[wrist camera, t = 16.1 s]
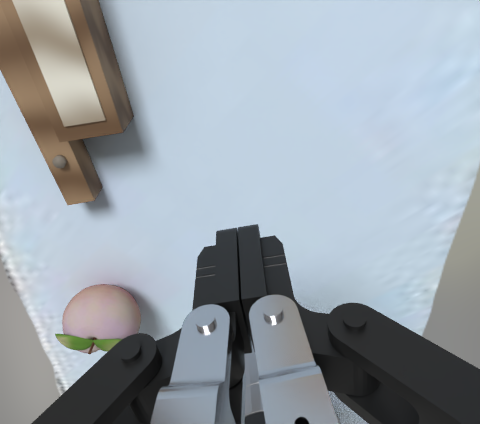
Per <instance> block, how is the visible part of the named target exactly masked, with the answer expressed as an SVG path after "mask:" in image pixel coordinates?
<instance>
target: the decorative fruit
mask: <svg viewBox="0 0 480 424" xmlns="http://www.w3.org/2000/svg"><path fill="white" fill-rule="evenodd" d="M140 323H141V314H140V310H139V307H138V304H137V303H136V301H135V299H134V298H133V297H132V295H131V294H130V293H129V292H127V291H126V290H124V289H123V288H120V287H117V286H113V285H107V284H100V285H94V286H90V287H87V288H85V289H83V290H82V291H80V292H79V293H78V294H77V295H75V296H74V297H73V298H72V300H71V301H70V302H69V303H68V305H67V307H66V309H65V311H64V314H63V322H62V324H63V333H64V334H55V335H56V338H57V339H58V341H59V342H60V343H61V344H63V345H64V346H66V347H67V348H70V349H73V350H78V351H80V352H83V353H88V354H91V353H93V352H96V351H98V350H103V351H109V350H110V349H111V348H113V347H114V346H115V345H116V344H117V343H118V342H119V341H121V340H122V339H124V338H126V337H127V336H130V335H133V334H137V333H138V331H139V328H140Z"/></svg>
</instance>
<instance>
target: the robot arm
mask: <svg viewBox="0 0 480 424" xmlns="http://www.w3.org/2000/svg"><path fill="white" fill-rule="evenodd" d="M328 391H333V392H334V393H335V394H336V396H337V397H338V398H339V399H340V400H341V401H342V402H343V403H344V404H346V405H347V406H348V407H349V408H350V409H352V410H353V411H354V412H355V413H357V414H358V415H359V416H360V417H362V418H363V419H364V420H365V421H366V422H368V423H369V424H480V369H478V368H476V367H475V366H473V365H471V364H469V363H468V362H466V361H464V360H462V359H461V358H459V357H457V356H455V355H453V354H452V353H450V352H448V351H446V350H444V349H443V348H441V347H439V346H438V345H436V344H434V343H432V342H430V341H429V340H427V339H425V338H423V337H422V336H420V335H418V334H416V333H415V332H413V331H411V330H409V329H407V328H406V327H404V326H402V325H400V324H399V323H397V322H395V321H393V320H392V319H390V318H388V317H386V316H384V315H383V314H381V313H379V312H377V311H376V310H374V309H372V308H370V307H368V306H366V305H363V304H359V303H346V304H342V305H339V306H337V307H336V308H334V309H333V310H332V311H331V312H330V314H324V313H317V312H312V311H309V310H307V309H305V308H303V307H302V306H301V305H299V304H298V303H297V301H296V300H295V298H294V295H293V290H292V286H291V281H290V276H289V272H288V267H287V263H286V258H285V253H284V248H283V244H282V243H281V242H280V241H279V240H278V239H277V238H276V236H269V237H263V238H260V232H259V227H258V224H256V225H250V226H244V227H238V230H237V228H232V229H226V230H220V231H217V232H216V245H214V246H208V247H204V248H203V250H202V252H201V253H200V255H199V256H198V260H197V270H196V280H195V290H194V300H193V310H192V311H191V312H190V313H189V314H188V315H187V317H186V318H185V320H184V322H183V325H182V328H181V329H180V330H178V331H177V332H175V333H173V334H171V335H169V336H167V337H164V338H162V339H160V340H157V341H155V340H154V339H153V338H152V337H151V336H150V335H147V334H141V333H139V334H133V335H130V336H127V337H126V338H124V339H122V340H121V341H119V342H118V343H117V344H116V345H115V346H114V347H113V348H111V349H110V350H109V351H108V352H107V353H106V354H105V355H104V356H103V357H102V358H101V359H100V360H99V361H98V362H97V363H95V364H94V365H93V366H92V367H91V368H90V369H89V370H88V371H87V372H86V373H85V374H84V375H83V376H82V377H81V378H79V379H78V380H77V381H76V382H75V383H74V384H73V385H72V386H71V387H70V388H69V389H68V390H67V391H66V392H65V393H64V394H62V395H61V396H60V397H59V399H57V400H56V401H55V402H54V403H53V404H52V405H51V406H50V407H49V408H48V409H46V410H45V411H44V412H43V413H42V414H41V415H40V416H39V417H38V418H37V419H36V420H35V421H34V422H33V423H32V424H339V423H338V420H337V417H336V414H335V411H334V408H333V405H332V402H331V399H330V396H329V393H328Z"/></svg>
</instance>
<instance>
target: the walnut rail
mask: <svg viewBox="0 0 480 424" xmlns="http://www.w3.org/2000/svg"><path fill="white" fill-rule="evenodd" d="M0 70H1V72H2V74H3V76H4V78H5V80H6V82H7V84H8V86H9V88H10V90H11V92H12V94H13V96H14V98H15V100H16V102H17V104H18V106H19V108H20V110H21V112H22V114H23V116H24V118H25V120H26V122H27V124H28V126H29V128H30V130H31V132H32V134H33V136H34V138H35V140H36V142H37V144H38V146H39V148H40V150H41V152H42V154H43V156H44V159H45V161H46V163H47V165H48V167H49V169H50V171H51V173H52V175H53V177H54V179H55V181H56V183H57V185H58V187H59V189H60V191H61V193H62V195H63V197H64V199H65V201H66V203H67V205H72V204H78V203H83V202H89V201H95V199H96V197H97V196H98V194H99V192H100V191H101V189H102V185H101V182H100V180H99V178H98V175H97V173H96V171H95V168H94V166H93V164H92V161H91V159H90V156H89V154H88V152H87V149H86V147H85V145H84V142H83V140H82V139H78V140H72V141H66V142H59V140H58V137H57V135H56V133H55V130H54V128H53V126H52V124H51V121H50V119H49V117H48V114H47V112H46V110H45V107H44V105H43V103H42V100H41V98H40V96H39V93H38V91H37V89H36V86H35V84H34V82H33V79H32V77H31V75H30V72H29V70H28V68H27V65H26V63H25V61H24V58H23V56H22V54H21V51H20V49H19V47H18V44H17V42H16V40H15V37H14V35H13V33H12V30H11V28H10V26H9V23H8V21H7V19H6V16H5V14H4V12H3V9H2V7H1V5H0Z"/></svg>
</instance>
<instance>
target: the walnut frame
mask: <svg viewBox="0 0 480 424" xmlns="http://www.w3.org/2000/svg"><path fill="white" fill-rule="evenodd" d="M0 5H1V7H2V9H3V12H4V14H5V16H6V19H7V21H8V23H9V26H10V28H11V30H12V33H13V35H14V37H15V40H16V42H17V44H18V47H19V49H20V51H21V54H22V56H23V58H24V61H25V63H26V65H27V68H28V70H29V72H30V75H31V77H32V79H33V82H34V84H35V86H36V89H37V91H38V93H39V96H40V98H41V100H42V103H43V105H44V107H45V110H46V112H47V114H48V117H49V119H50V121H51V124H52V126H53V128H54V130H55V133H56V135H57V137H58V140H59V142H66V141H72V140H78V139H85V138H91V137H98V136H104V135H111V134H117V133H123V132H124V130H125V129H126V127H127V126H128V124H129V123H130V121H131V120H132V118H133V117H134V115H133V112H132V109H131V105H130V102H129V99H128V95H127V92H126V89H125V86H124V82H123V79H122V76H121V73H120V69H119V66H118V63H117V59H116V56H115V53H114V50H113V46H112V43H111V40H110V37H109V33H108V30H107V27H106V23H105V20H104V17H103V14H102V10H101V7H100V4H99V0H0Z"/></svg>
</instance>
